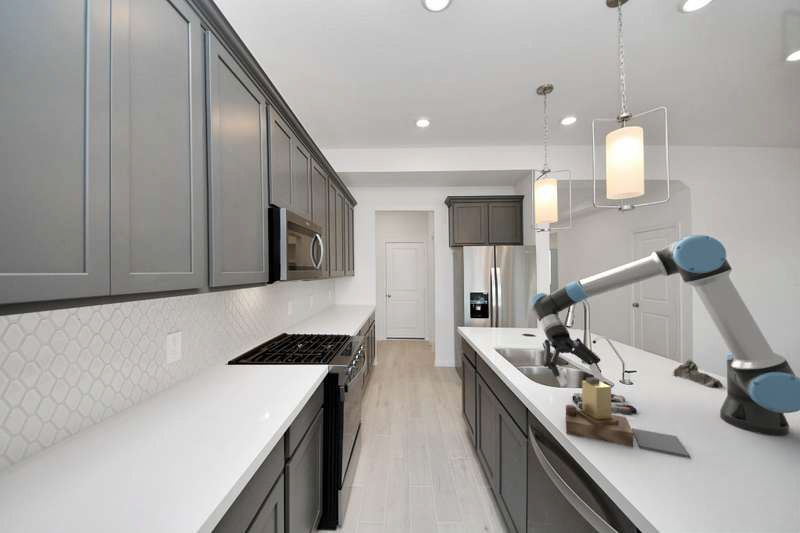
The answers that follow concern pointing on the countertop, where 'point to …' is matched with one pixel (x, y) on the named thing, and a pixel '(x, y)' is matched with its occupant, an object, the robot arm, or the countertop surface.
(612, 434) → the body
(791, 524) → the countertop surface
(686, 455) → the mat
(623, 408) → the toy gun
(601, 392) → the labelled wooden block
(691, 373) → the rock
